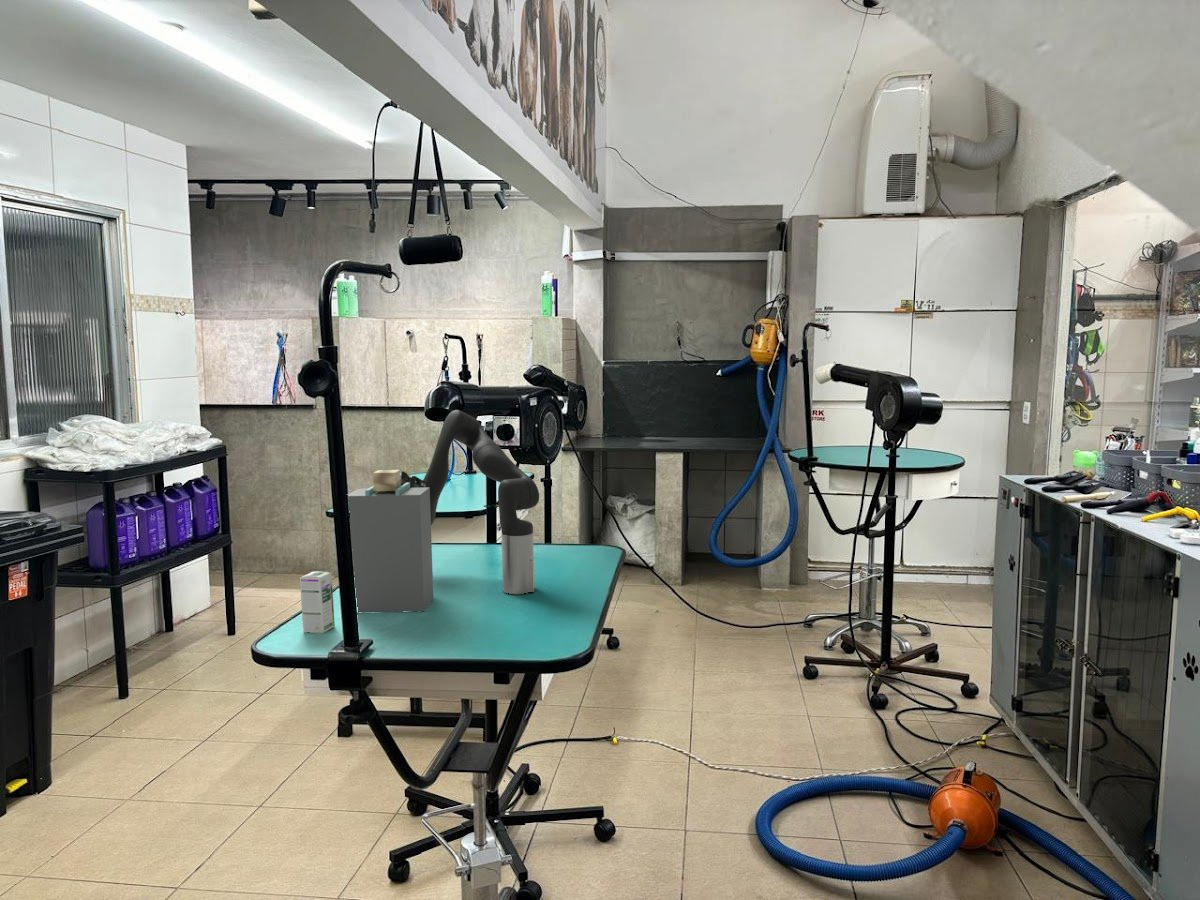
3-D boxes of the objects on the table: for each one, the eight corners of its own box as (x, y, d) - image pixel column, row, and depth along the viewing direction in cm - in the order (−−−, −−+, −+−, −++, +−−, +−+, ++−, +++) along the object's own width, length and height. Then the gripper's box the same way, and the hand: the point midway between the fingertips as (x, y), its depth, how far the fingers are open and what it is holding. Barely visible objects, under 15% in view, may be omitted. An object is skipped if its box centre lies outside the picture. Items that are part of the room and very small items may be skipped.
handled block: (411, 480, 249) (410, 463, 248) (395, 490, 229) (395, 472, 228) (390, 481, 249) (389, 464, 248) (373, 491, 229) (372, 472, 228)
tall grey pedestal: (433, 597, 243) (429, 482, 240) (424, 611, 229) (419, 489, 226) (363, 598, 243) (358, 483, 240) (349, 613, 229) (344, 490, 226)
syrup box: (323, 633, 212) (320, 576, 210) (302, 632, 213) (299, 576, 211) (335, 626, 217) (332, 571, 216) (314, 625, 218) (311, 570, 217)
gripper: (386, 484, 260) (372, 462, 244) (432, 484, 260) (421, 461, 245) (384, 507, 257) (370, 486, 241) (430, 507, 257) (420, 485, 241)
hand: (396, 474), depth 243 cm, fingers closed on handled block, 3 cm apart
